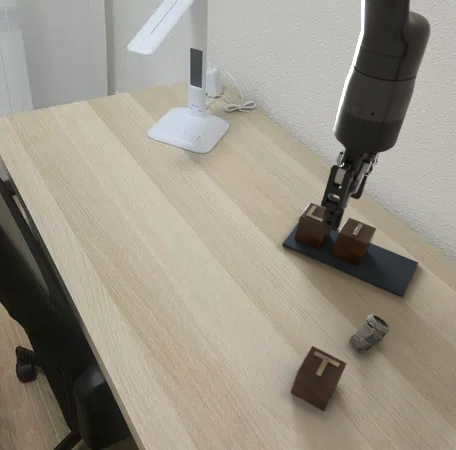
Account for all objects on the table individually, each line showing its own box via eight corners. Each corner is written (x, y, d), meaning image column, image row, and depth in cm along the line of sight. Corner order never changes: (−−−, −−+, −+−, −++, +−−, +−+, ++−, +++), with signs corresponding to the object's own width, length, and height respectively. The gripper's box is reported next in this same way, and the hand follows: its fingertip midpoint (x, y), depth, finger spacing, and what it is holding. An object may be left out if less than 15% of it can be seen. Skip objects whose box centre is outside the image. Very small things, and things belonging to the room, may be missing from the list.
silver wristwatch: (388, 344, 78) (400, 321, 74) (357, 362, 75) (367, 339, 72) (370, 326, 80) (380, 304, 77) (338, 343, 77) (347, 320, 74)
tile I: (367, 250, 91) (376, 227, 88) (358, 266, 89) (367, 242, 85) (341, 239, 93) (348, 216, 90) (331, 254, 90) (338, 231, 87)
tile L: (329, 235, 94) (337, 211, 91) (319, 250, 91) (326, 226, 88) (304, 224, 96) (310, 201, 93) (293, 239, 93) (299, 215, 90)
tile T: (337, 385, 72) (347, 362, 69) (324, 411, 69) (334, 388, 66) (304, 368, 74) (312, 344, 71) (290, 392, 71) (298, 369, 68)
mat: (417, 264, 90) (418, 262, 90) (402, 297, 84) (403, 296, 84) (303, 217, 98) (303, 215, 98) (282, 245, 92) (282, 243, 92)
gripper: (386, 139, 59) (349, 250, 69) (422, 90, 68) (385, 196, 78) (320, 118, 62) (294, 227, 73) (363, 74, 71) (334, 177, 82)
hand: (341, 211), depth 76 cm, fingers open, 8 cm apart
